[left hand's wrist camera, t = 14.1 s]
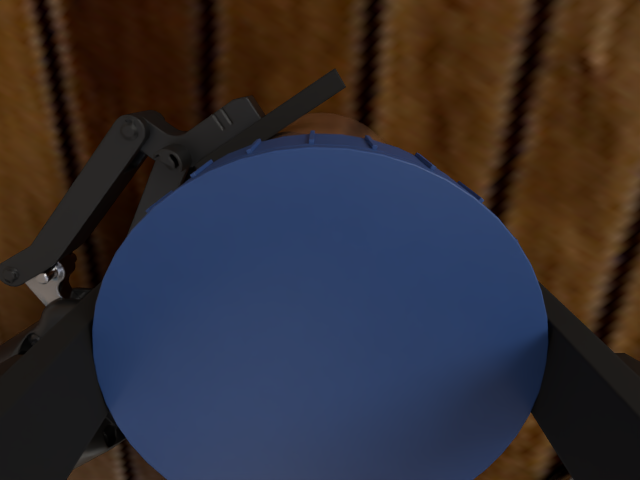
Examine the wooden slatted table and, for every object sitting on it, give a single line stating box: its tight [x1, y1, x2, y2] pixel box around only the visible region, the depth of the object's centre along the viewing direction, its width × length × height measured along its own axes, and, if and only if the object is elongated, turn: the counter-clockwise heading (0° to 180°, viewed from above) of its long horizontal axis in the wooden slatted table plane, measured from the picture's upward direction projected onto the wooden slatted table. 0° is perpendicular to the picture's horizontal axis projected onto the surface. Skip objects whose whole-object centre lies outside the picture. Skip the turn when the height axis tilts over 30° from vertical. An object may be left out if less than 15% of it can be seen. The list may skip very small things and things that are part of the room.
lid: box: [92, 130, 548, 480], centre depth 12 cm, size 11×11×2 cm
